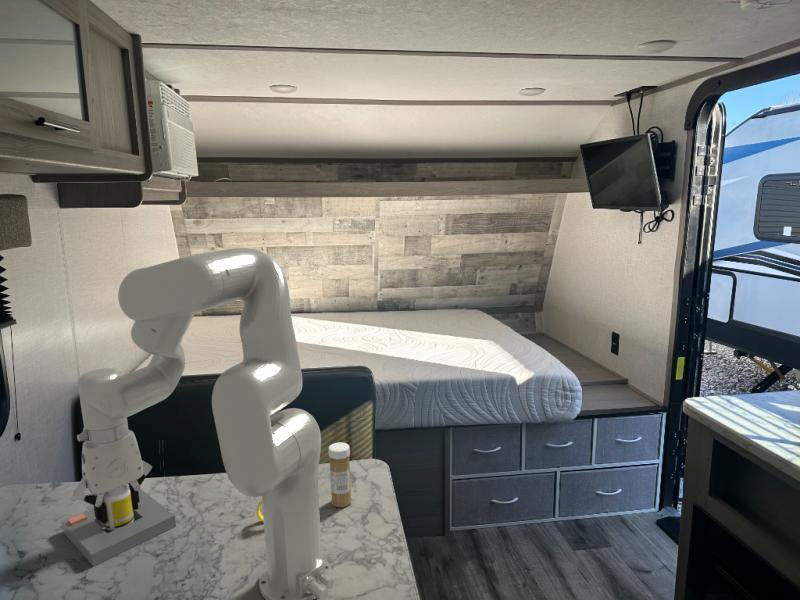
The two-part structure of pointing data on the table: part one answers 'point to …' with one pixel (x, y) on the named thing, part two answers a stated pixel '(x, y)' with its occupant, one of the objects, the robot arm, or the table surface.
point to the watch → (259, 511)
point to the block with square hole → (117, 530)
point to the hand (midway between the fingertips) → (118, 513)
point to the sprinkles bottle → (340, 474)
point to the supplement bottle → (118, 508)
